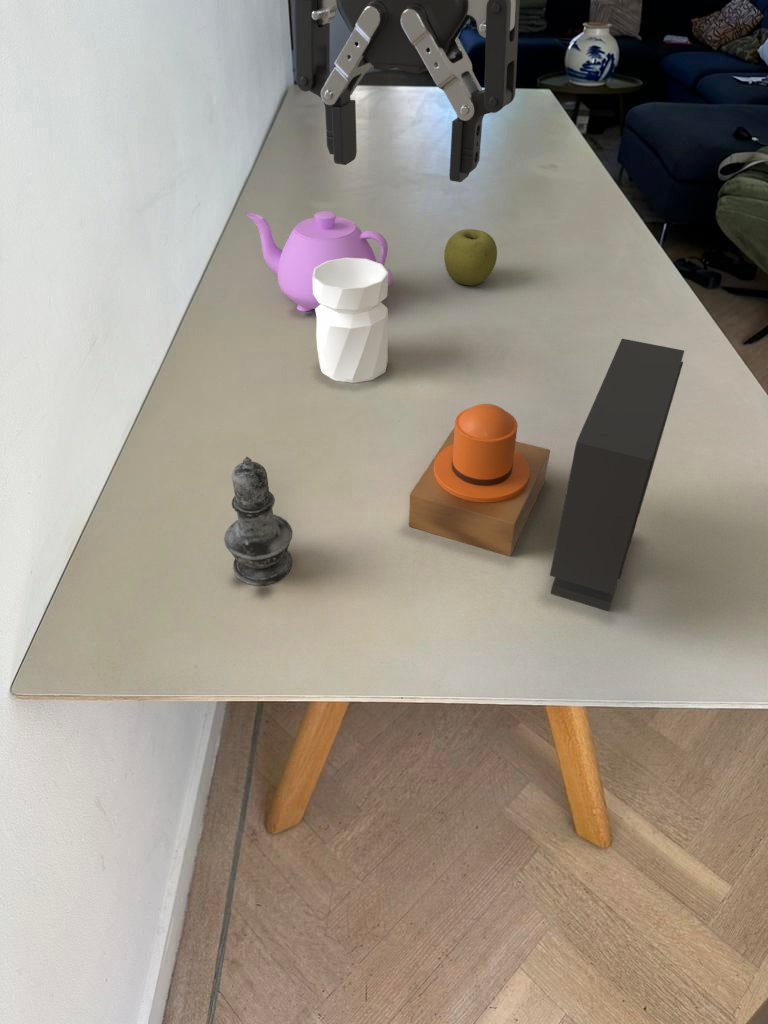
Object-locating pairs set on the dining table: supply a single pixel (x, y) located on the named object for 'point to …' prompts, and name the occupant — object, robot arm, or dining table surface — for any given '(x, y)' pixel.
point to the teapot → (315, 252)
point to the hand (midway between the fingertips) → (401, 170)
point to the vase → (351, 319)
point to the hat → (483, 457)
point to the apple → (470, 256)
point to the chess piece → (257, 529)
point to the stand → (477, 507)
